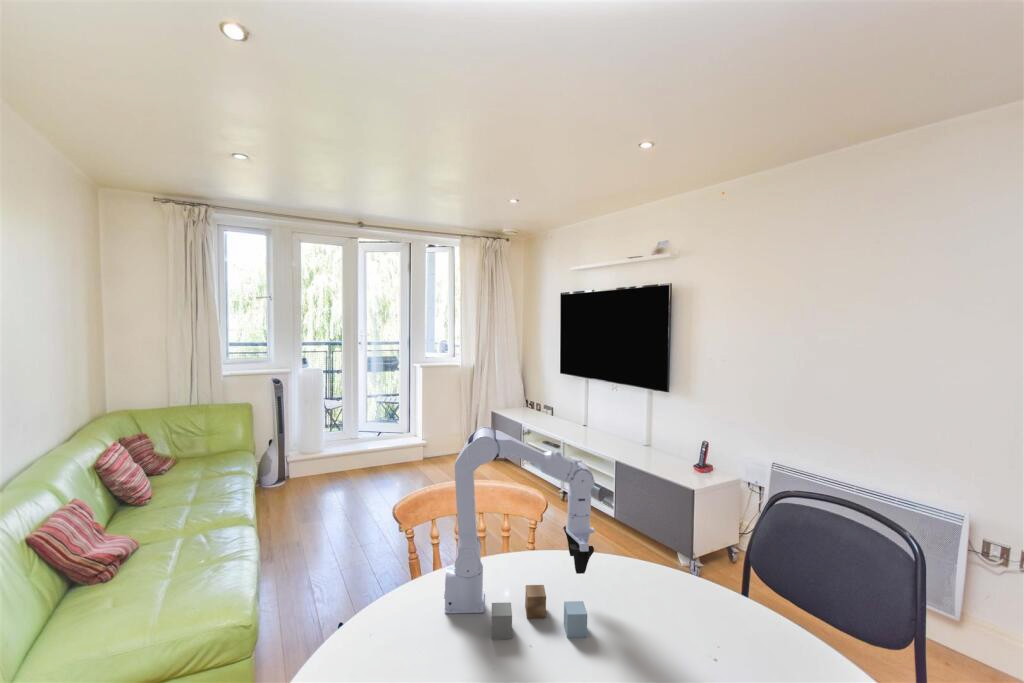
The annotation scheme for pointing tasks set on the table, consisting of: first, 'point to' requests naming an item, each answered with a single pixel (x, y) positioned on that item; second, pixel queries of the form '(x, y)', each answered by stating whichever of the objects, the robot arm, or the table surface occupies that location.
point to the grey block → (501, 621)
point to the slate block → (575, 619)
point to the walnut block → (535, 601)
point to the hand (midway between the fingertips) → (577, 563)
